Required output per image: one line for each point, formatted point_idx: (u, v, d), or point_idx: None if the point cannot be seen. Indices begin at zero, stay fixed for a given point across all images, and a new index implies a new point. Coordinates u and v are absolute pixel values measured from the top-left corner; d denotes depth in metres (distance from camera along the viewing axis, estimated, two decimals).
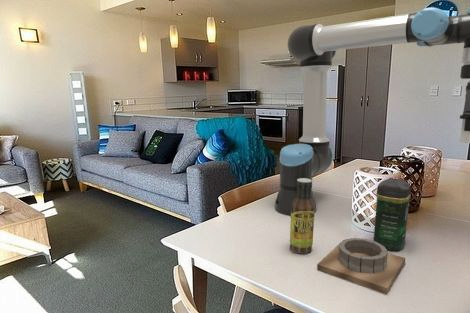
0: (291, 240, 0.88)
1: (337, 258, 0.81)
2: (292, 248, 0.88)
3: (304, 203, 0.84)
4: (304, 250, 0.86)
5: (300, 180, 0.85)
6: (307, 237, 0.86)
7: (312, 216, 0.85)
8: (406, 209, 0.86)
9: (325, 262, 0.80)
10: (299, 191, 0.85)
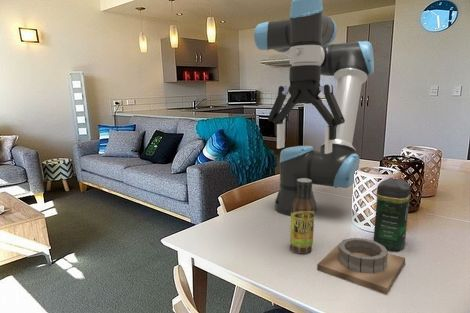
0: (291, 240, 0.88)
1: (337, 258, 0.81)
2: (292, 248, 0.88)
3: (304, 203, 0.84)
4: (304, 250, 0.86)
5: (300, 180, 0.85)
6: (307, 237, 0.86)
7: (312, 216, 0.85)
8: (406, 209, 0.86)
9: (325, 262, 0.80)
10: (299, 191, 0.85)
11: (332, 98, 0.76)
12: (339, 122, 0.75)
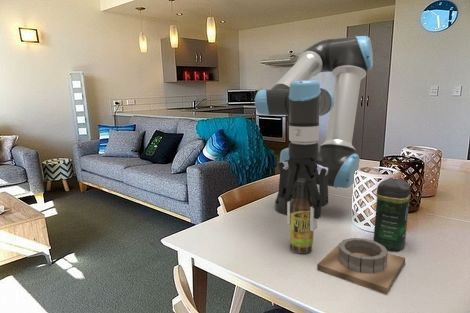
0: (291, 240, 0.88)
1: (337, 258, 0.81)
2: (292, 248, 0.88)
3: (304, 203, 0.84)
4: (304, 250, 0.86)
5: (299, 180, 0.85)
6: (307, 237, 0.86)
7: None
8: (406, 209, 0.86)
9: (325, 262, 0.80)
10: (299, 190, 0.85)
11: (324, 182, 0.81)
12: (322, 205, 0.82)
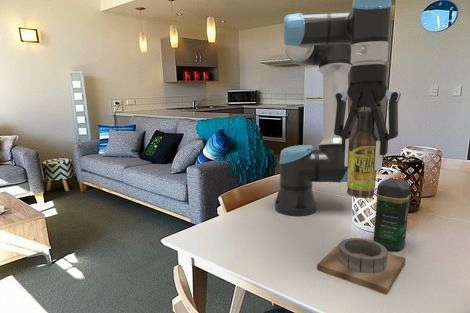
0: (350, 183, 0.75)
1: (337, 258, 0.81)
2: (351, 193, 0.75)
3: (368, 137, 0.72)
4: (366, 194, 0.74)
5: (362, 111, 0.73)
6: (371, 178, 0.73)
7: None
8: (406, 209, 0.86)
9: (325, 262, 0.80)
10: (361, 123, 0.72)
11: (395, 109, 0.69)
12: (392, 137, 0.69)
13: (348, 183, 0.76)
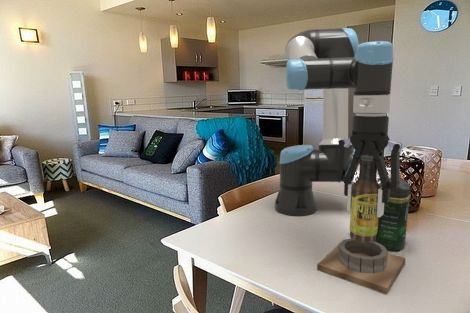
0: (353, 228, 0.77)
1: (337, 258, 0.81)
2: (354, 237, 0.77)
3: (370, 185, 0.73)
4: (369, 239, 0.75)
5: (365, 159, 0.74)
6: (373, 224, 0.75)
7: None
8: (406, 209, 0.86)
9: (325, 262, 0.80)
10: (364, 171, 0.74)
11: (397, 159, 0.70)
12: (394, 187, 0.71)
13: (351, 227, 0.78)
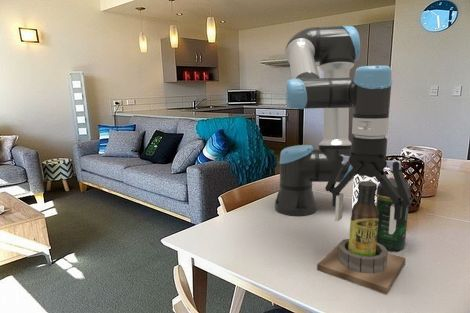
0: (351, 251, 0.78)
1: (337, 258, 0.81)
2: None
3: (369, 210, 0.75)
4: None
5: (363, 184, 0.75)
6: (371, 247, 0.76)
7: (377, 224, 0.76)
8: (406, 209, 0.86)
9: (325, 262, 0.80)
10: (363, 195, 0.75)
11: (401, 176, 0.70)
12: (407, 204, 0.70)
13: (349, 250, 0.79)
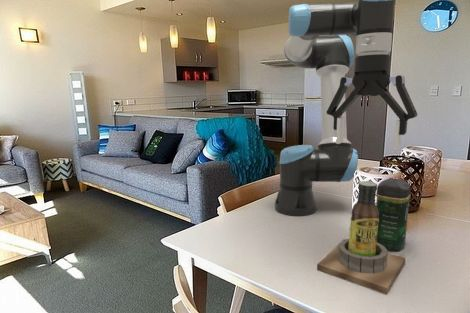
0: (351, 251, 0.78)
1: (337, 258, 0.81)
2: None
3: (369, 210, 0.75)
4: None
5: (363, 184, 0.75)
6: (371, 247, 0.76)
7: (377, 224, 0.76)
8: (406, 209, 0.86)
9: (325, 262, 0.80)
10: (363, 195, 0.75)
11: (404, 90, 0.71)
12: (413, 116, 0.70)
13: (349, 250, 0.79)
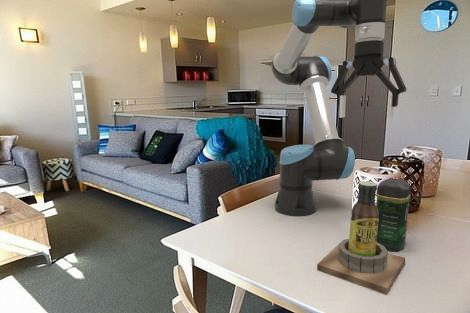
0: (351, 251, 0.78)
1: (337, 258, 0.81)
2: None
3: (369, 210, 0.75)
4: None
5: (363, 183, 0.76)
6: (371, 247, 0.76)
7: (377, 224, 0.76)
8: (406, 209, 0.86)
9: (325, 262, 0.80)
10: (363, 195, 0.75)
11: (396, 69, 0.86)
12: (402, 90, 0.86)
13: (349, 250, 0.79)
